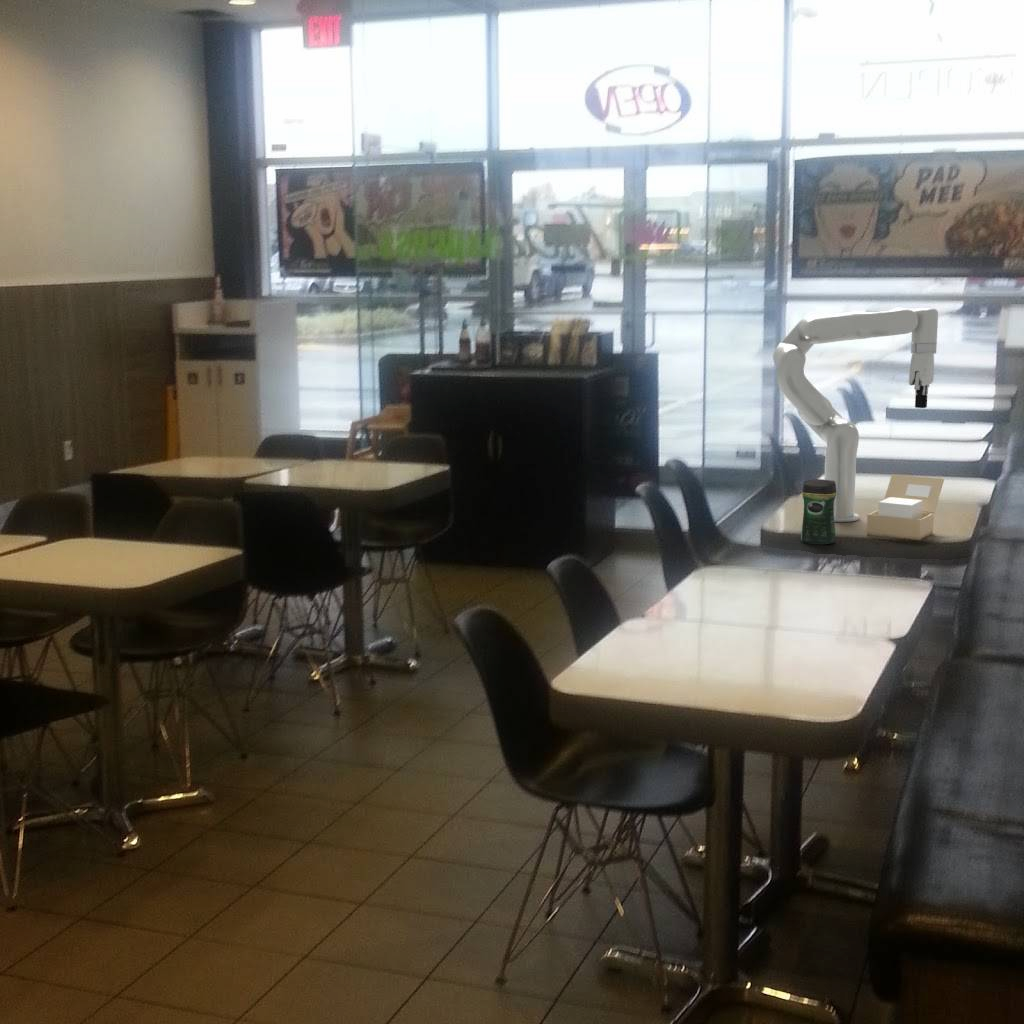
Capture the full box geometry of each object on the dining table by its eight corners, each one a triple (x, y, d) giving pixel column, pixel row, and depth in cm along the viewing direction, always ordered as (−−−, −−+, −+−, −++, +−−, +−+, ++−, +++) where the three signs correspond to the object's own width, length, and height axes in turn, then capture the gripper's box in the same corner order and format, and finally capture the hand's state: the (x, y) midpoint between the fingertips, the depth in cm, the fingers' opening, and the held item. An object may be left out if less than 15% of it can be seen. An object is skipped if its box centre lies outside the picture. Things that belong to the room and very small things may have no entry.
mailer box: (866, 534, 400) (868, 501, 398) (880, 527, 410) (882, 495, 408) (919, 540, 391) (921, 506, 389) (932, 533, 400) (934, 500, 399)
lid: (891, 474, 413) (892, 475, 413) (881, 506, 408) (882, 508, 409) (943, 478, 404) (944, 479, 404) (933, 512, 399) (934, 513, 400)
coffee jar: (837, 541, 391) (840, 478, 388) (830, 546, 384) (832, 482, 381) (805, 538, 396) (807, 476, 392) (797, 543, 389) (799, 480, 385)
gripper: (919, 346, 421) (916, 404, 425) (903, 349, 409) (900, 409, 413) (943, 347, 417) (940, 405, 420) (927, 350, 405) (924, 410, 408)
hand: (920, 407), depth 417 cm, fingers closed
